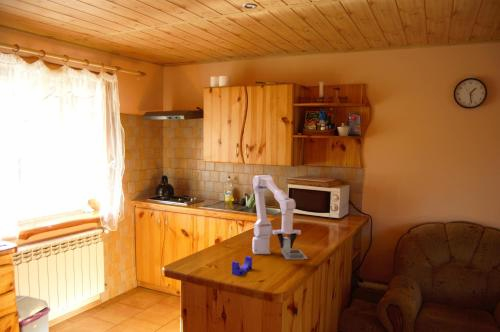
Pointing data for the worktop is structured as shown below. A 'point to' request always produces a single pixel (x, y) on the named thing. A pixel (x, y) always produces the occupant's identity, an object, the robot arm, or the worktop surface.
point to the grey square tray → (294, 255)
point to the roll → (286, 245)
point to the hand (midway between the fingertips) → (286, 247)
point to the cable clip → (246, 266)
